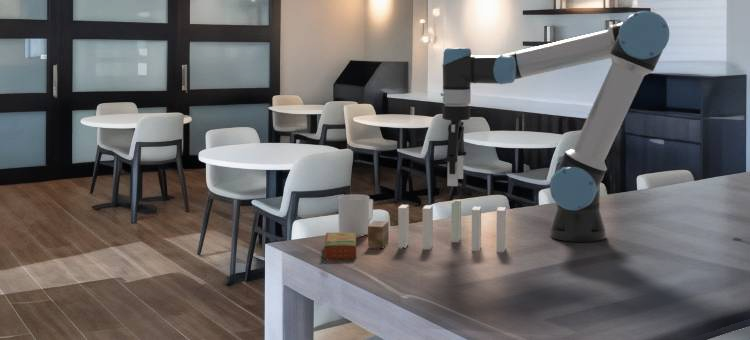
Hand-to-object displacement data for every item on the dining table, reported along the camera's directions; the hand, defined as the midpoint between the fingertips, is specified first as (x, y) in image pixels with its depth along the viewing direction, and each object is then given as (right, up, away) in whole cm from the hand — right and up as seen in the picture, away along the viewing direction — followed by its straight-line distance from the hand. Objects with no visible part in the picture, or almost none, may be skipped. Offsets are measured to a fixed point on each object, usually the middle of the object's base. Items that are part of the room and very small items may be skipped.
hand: (455, 182), depth 238 cm
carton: (-31, -19, -11) cm, 38 cm away
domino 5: (+11, -18, -10) cm, 23 cm away
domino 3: (0, -16, +2) cm, 16 cm away
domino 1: (-14, -17, -5) cm, 23 cm away
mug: (-27, -15, +12) cm, 33 cm away
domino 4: (+5, -18, -9) cm, 20 cm away
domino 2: (-8, -17, -6) cm, 20 cm away
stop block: (-21, -17, -3) cm, 27 cm away
